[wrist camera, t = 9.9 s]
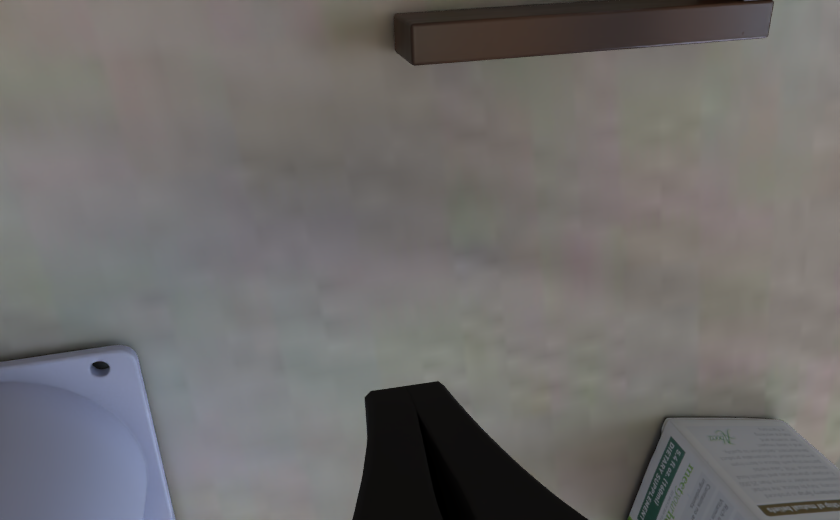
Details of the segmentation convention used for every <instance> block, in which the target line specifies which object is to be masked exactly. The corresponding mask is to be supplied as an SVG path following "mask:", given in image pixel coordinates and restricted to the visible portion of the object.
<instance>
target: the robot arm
mask: <svg viewBox="0 0 840 520" xmlns="http://www.w3.org/2000/svg"><path fill="white" fill-rule="evenodd" d="M96 361H103V362H105V363H107V364H108V366H109V367H108V368H106V369H97V368H95V367H94V366H93V365H92V363H94V362H96ZM365 408H366V422H367V448H366V455H365V462H364V469H363V476H362V481H361V485H360V490H359V494H358V499H357V503H356V507H355V512H354V516H353V519H352V520H588V519H587V518H585V517H584V516H582V515H581V514H580V513H578V512H577V511H575V510H574V509H573V508H571V507H570V506H569V505H567V504H566V503H565V502H563V501H562V500H561V499H559V498H558V497H557V496H556V495H554V494H553V493H552V492H550V491H549V490H548V489H547V488H546V487H544V486H543V485H542V484H541V483H540V482H538V481H537V480H536V479H535V478H534V477H533V476H531V475H530V474H529V473H528V472H527V471H526V470H524V469H523V468H522V467H521V466H520V465H519V464H518V463H517V462H516V461H515V460H513V459H512V458H511V457H510V456H509V455H508V454H507V453H506V452H505V451H504V450H503V449H502V448H501V447H500V446H499V445H498V444H497V443H496V442H495V441H494V440H493V439H492V438H491V437H490V436H489V435H488V434H487V433H486V432H485V431H484V430H483V429H482V428H481V427H480V426H479V425H478V424H477V423H476V422H475V421H474V420H473V418H472V417H471V416H470V415H469V414H468V413H467V412H466V411H465V410H464V409H463V407H462V406H461V405H460V404H459V403H458V402H457V401H456V399H455V398H454V397H453V396H452V395H451V394H450V392H449V391H448V390H447V389H446V387H445V386H444V385H442V384H441V383H440V382H439V381H437V382H430V383H423V384H416V385H409V386H403V387H396V388H389V389H382V390H375V391H371V392H370V393H369V394H368V395H367V396H366V397H365ZM0 520H176V519H175V515H174V511H173V506H172V502H171V498H170V493H169V489H168V485H167V480H166V476H165V472H164V467H163V463H162V459H161V454H160V450H159V446H158V442H157V437H156V433H155V429H154V424H153V420H152V416H151V411H150V407H149V403H148V398H147V394H146V390H145V385H144V381H143V377H142V372H141V368H140V364H139V359H138V356H137V354H136V352H135V351H134V350H133V349H132V348H130V347H128V346H125V345H112V346H105V347H98V348H92V349H85V350H78V351H71V352H64V353H58V354H51V355H44V356H37V357H31V358H24V359H17V360H10V361H4V362H0Z"/></svg>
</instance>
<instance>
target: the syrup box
mask: <svg viewBox="0 0 840 520" xmlns="http://www.w3.org/2000/svg"><path fill="white" fill-rule="evenodd" d="M661 433H662V435H661V438H660V440H659V442H658V444H657V447H656V450H655V452H654V454H653V456H652V458H651V461H650V463H649V466H648V468H647V471H646V473H645V476H644V478H643V481H642V484H641V486H640V489H639V491H638V494H637V496H636V499H635V501H634V504H633V507H632V509H631V512H630V515H629V517H628V519H627V520H840V469H839V468H837V467H836V466H835V465H834V464H833V463H832V462H831V461H830V460H828V459H827V458H826V457H825V456H824V455H823V454H822V453H820V452H819V451H818V450H817V449H816V448H815V447H814V446H812V445H811V444H810V443H809V442H808V441H807V440H806V439H804V438H803V437H802V436H801V435H800V434H799V433H797V432H796V431H795V430H794V429H793V428H792V427H791V426H789V425H788V424H787V423H786V422H784V421H782V420H776V419H757V418H667V419H666V420H665V421H664V424H663V426H662V429H661Z"/></svg>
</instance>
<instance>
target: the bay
mask: <svg viewBox="0 0 840 520" xmlns="http://www.w3.org/2000/svg"><path fill="white" fill-rule="evenodd" d="M773 4H774V2H773V0H603V1H588V2H572V3H556V4H540V5H524V6H509V7H493V8H477V9H461V10H445V11H430V12H414V13H398V14H395V15H394V38H395V51H396V52H397V53H398V54H399V55H401V56H402V57H403V58H404V59H406V60H407V61H408V62H409V63H411V64H412V65H414V66H416V65H429V64H442V63H454V62H467V61H480V60H492V59H505V58H518V57H530V56H543V55H556V54H568V53H581V52H594V51H607V50H619V49H632V48H645V47H657V46H670V45H683V44H695V43H708V42H721V41H733V40H746V39H759V38H766V37H767V36H768V33H769V28H770V22H771V16H772V10H773Z"/></svg>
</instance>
